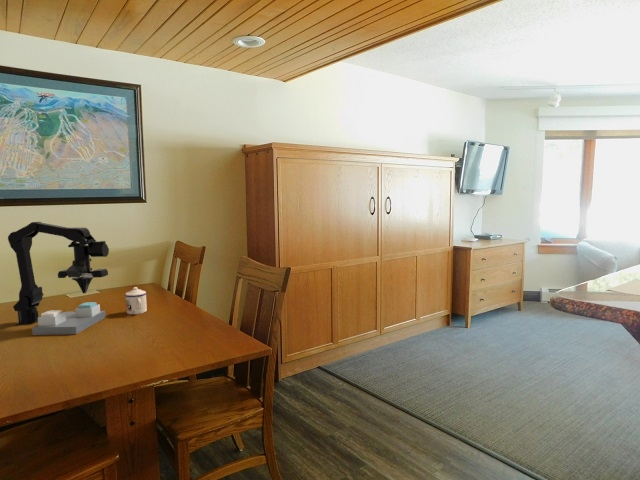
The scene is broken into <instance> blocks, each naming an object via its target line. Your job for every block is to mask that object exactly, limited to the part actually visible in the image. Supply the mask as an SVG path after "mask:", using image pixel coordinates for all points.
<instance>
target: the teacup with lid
mask: <svg viewBox="0 0 640 480" xmlns="http://www.w3.org/2000/svg"><path fill="white" fill-rule="evenodd" d="M124 297H125V305H126V306H125V307H126V313H127V315H139V314H141V315H142V314H144V313H146V312H147V311H148V309H147V308H148V307H147V306H148V305H147V291H145V290H142V289H140V288H138V286H135V287H133V288H132V289H131V290H130V291H127V292H125V295H124Z"/></svg>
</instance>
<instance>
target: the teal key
mask: <svg viewBox="0 0 640 480" xmlns="http://www.w3.org/2000/svg"><path fill="white" fill-rule="evenodd" d="M96 305H97V302H95V301H93V302H92V301H90V302H88V301H87V302H83V303H81V304H78V307H79V308H92V307H94V306H96Z"/></svg>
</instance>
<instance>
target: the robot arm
mask: <svg viewBox="0 0 640 480" xmlns="http://www.w3.org/2000/svg"><path fill="white" fill-rule="evenodd" d="M39 233H41V234H46V235H47V234H48V235H52V236H57V237H58V236H59V237H64V238H65V239H67V240H69V241H71V242H70V243H69V244H68V246H67V247H68V248H73V257H74V258H73V259H74V260H72V264H71V265H70V266H69V267H68V268H67V269H62V270H59V271H58V272H57V279H66V278H67V277H68V278H71V280H72V281H75V282H76V283H77V285H78V286H79V288H80V290H81V292H82V294H86V293H87V292H88V289H89V288H90V284H91V282H92V280H93V279H94V278H104V277H106V276H108V275H109V271H108V270H107V268H98V269H95V270H94V269H93V267H91V262H92V261H93V260H92V258H106V257H108V255H109V252H110V250H109V249H110V248H109V247H108V246H109V245H107V243H106V240H100V241H97V240H96V239H95V238H94V236H93V235H92V234H91V232H90V230H89V228H87V227H66V226H63V225H55V224H51V223H44V222H42V221H32V222H30V223H29V224H27V225H25V226H24V227H22V228H20V229H18V230H16V231H12V232H10V233H9V234H8V236H7V240H8V244H9V246H10V248H11V249H12V250H13V251H14V252H15V253H14V254H15V258H16V262H17V267H18V272H19V279H20V283H21V287H20V290H19V292H18V301H17V302H16V303H15V304H14V305H13V310H14V311H15V312H17V319H18V322H16V323H15V325H17V326H18V325H33V324H34V323H38V317H40V316H39V311H38V307H39V306H40V302H41V301H42V300H43V296H44V293H43V287H42V286H38V285H37V284H36V281H35V275H34V269H33V264H32V262H33V261H32V257H31V252H30V251H31V248H32V246H33V238H34V237H36V236H37V235H39Z"/></svg>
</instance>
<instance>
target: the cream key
mask: <svg viewBox="0 0 640 480" xmlns="http://www.w3.org/2000/svg"><path fill="white" fill-rule="evenodd" d="M62 312H63V311H62V310H61V309H59V310H58V309H55V310H53V309H52V310H50V309H49V310H47V311H45V312H42V313H41V314H40V316H41V317H54V316H57V315H59V314H61V313H62Z"/></svg>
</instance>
